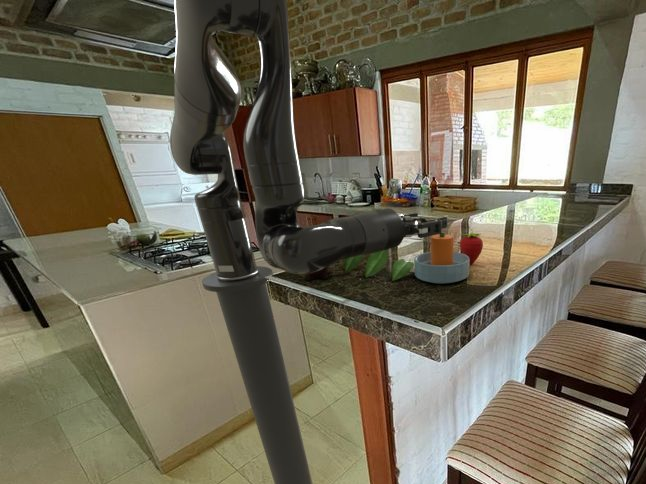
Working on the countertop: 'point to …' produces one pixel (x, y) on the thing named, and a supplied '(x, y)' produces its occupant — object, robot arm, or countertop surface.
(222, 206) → the robot arm
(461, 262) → the bowl
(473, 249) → the strawberry
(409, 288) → the countertop surface
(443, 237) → the vegetable
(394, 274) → the leaves
